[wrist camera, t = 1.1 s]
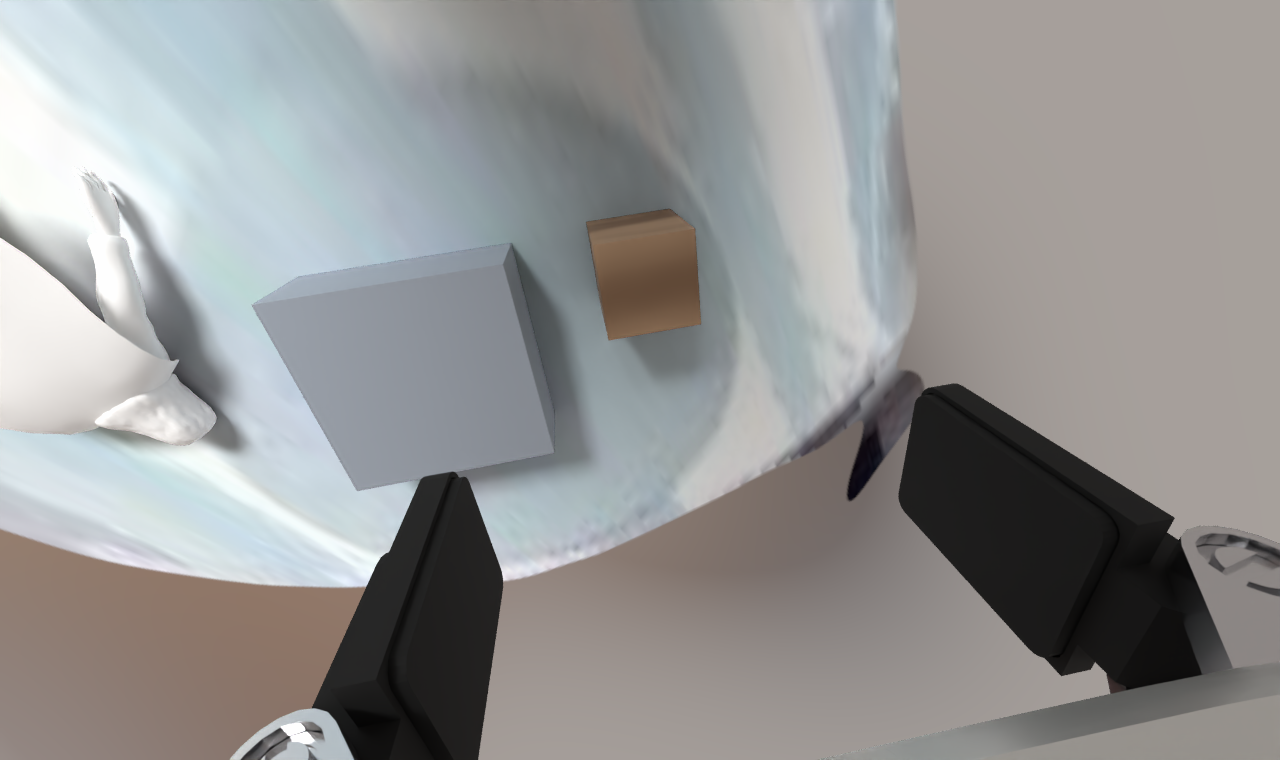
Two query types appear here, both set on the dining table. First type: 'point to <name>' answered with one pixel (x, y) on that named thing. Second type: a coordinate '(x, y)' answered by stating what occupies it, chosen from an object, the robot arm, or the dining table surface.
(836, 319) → the dining table surface
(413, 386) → the plinth
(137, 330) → the figurine
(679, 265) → the walnut block
